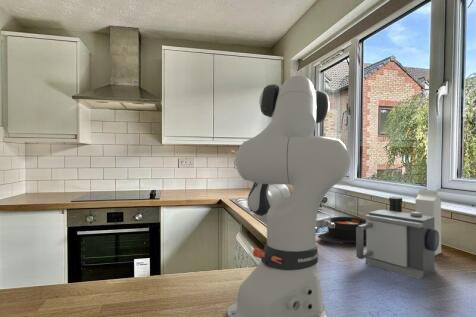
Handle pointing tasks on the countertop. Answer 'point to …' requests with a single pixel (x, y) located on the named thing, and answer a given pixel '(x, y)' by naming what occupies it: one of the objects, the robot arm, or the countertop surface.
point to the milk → (430, 209)
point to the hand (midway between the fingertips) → (325, 228)
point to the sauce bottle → (395, 204)
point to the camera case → (411, 242)
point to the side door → (383, 242)
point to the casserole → (343, 230)
